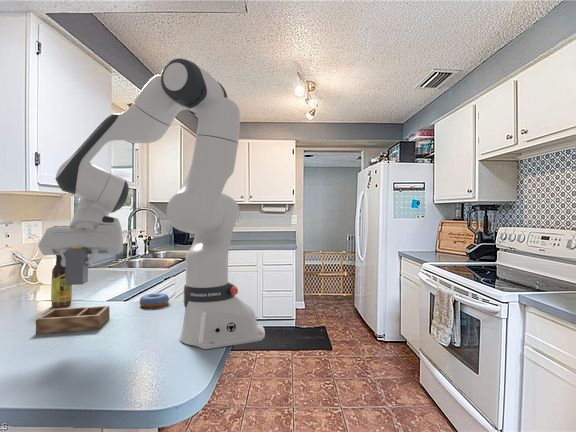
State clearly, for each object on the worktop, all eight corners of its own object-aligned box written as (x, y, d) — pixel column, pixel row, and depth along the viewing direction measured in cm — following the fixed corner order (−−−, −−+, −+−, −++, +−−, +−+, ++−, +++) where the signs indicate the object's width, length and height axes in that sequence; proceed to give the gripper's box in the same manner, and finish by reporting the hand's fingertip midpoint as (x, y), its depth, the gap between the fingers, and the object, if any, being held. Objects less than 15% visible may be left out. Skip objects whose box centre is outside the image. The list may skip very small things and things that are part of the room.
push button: (87, 281, 95) (87, 244, 95) (82, 284, 91) (82, 246, 91) (71, 282, 94) (71, 244, 94) (65, 285, 90) (65, 246, 90)
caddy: (109, 318, 112) (109, 305, 112) (98, 329, 101) (98, 315, 101) (53, 322, 108) (53, 309, 108) (35, 333, 98) (35, 319, 98)
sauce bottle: (61, 308, 124) (61, 252, 124) (46, 307, 126) (46, 251, 125) (76, 303, 131) (75, 250, 131) (62, 302, 132) (61, 250, 132)
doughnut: (154, 309, 121) (154, 296, 122) (133, 308, 125) (133, 295, 126) (174, 305, 130) (174, 292, 131) (154, 304, 134) (154, 292, 135)
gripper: (44, 218, 97) (26, 258, 88) (124, 218, 102) (115, 256, 92) (51, 233, 102) (35, 273, 92) (127, 233, 106) (119, 270, 97)
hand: (76, 265), depth 92 cm, fingers closed on push button, 4 cm apart
